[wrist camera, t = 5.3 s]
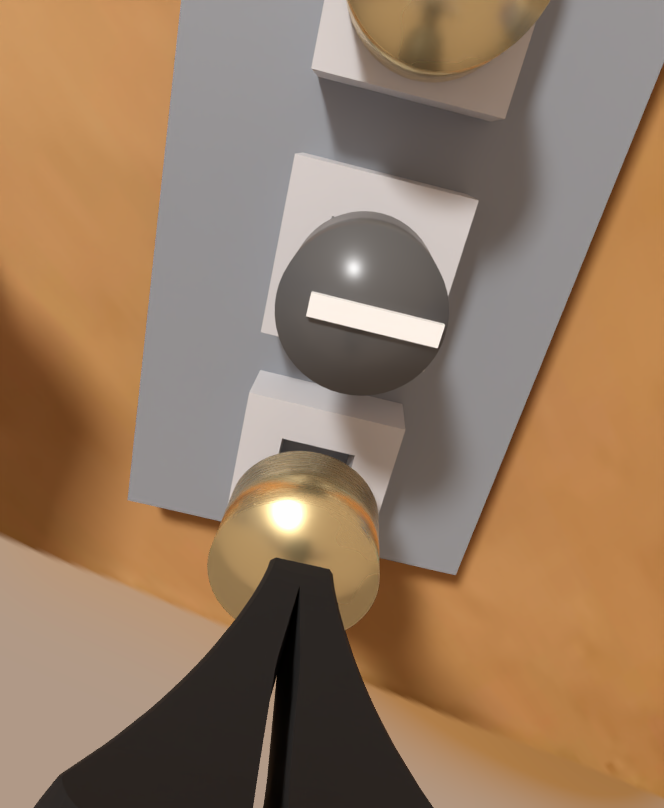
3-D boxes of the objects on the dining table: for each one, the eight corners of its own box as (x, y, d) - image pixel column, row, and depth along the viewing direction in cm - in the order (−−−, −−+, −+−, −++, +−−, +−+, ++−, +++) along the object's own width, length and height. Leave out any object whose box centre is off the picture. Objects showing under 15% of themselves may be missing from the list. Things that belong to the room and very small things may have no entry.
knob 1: (233, 520, 20) (196, 620, 16) (255, 406, 18) (221, 484, 14) (358, 549, 20) (356, 656, 16) (393, 438, 18) (400, 525, 14)
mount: (145, 473, 25) (106, 531, 21) (229, -229, 16) (186, -343, 12) (449, 543, 25) (463, 612, 21) (699, -99, 16) (795, -169, 12)
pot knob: (287, 317, 17) (259, 376, 13) (314, 187, 16) (292, 205, 11) (408, 346, 17) (420, 415, 13) (446, 221, 16) (474, 251, 11)
